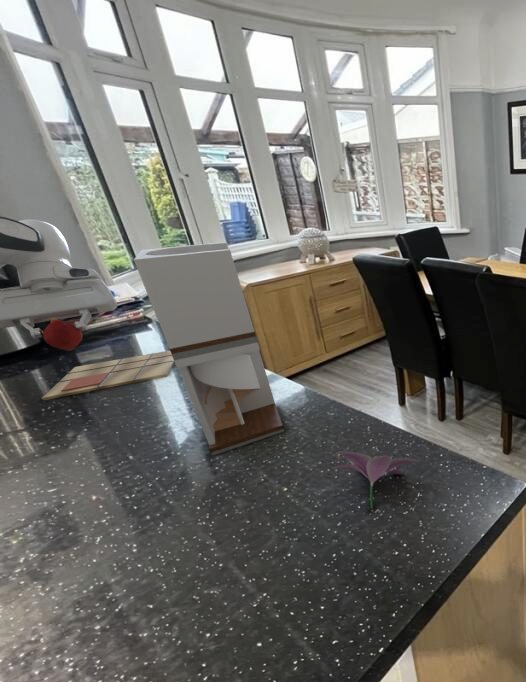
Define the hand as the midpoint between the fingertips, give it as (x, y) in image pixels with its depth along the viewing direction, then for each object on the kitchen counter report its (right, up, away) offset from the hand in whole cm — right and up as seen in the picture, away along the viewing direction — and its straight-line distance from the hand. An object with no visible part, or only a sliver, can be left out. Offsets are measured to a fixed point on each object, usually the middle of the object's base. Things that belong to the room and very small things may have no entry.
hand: (60, 333), depth 89 cm
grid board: (+2, -10, +11) cm, 15 cm away
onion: (0, -4, +2) cm, 5 cm away
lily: (+82, -25, -28) cm, 90 cm away
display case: (+51, -20, -12) cm, 56 cm away
